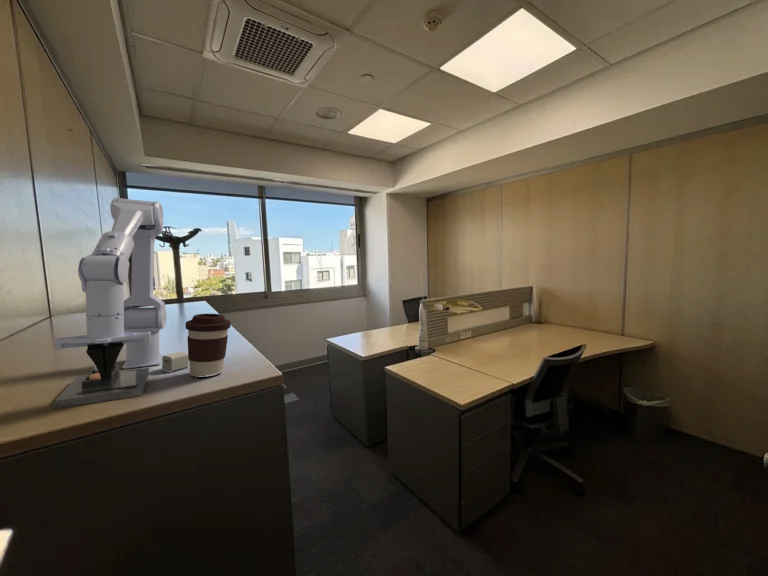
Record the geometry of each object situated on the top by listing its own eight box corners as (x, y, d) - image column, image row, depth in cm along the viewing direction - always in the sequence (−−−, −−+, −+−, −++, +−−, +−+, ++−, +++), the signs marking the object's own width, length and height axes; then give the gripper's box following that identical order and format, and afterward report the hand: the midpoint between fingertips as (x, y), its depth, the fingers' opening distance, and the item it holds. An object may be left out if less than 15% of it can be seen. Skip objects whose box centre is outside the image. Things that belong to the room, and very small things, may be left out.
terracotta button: (91, 380, 67) (91, 373, 67) (110, 378, 69) (110, 371, 69) (87, 385, 65) (87, 378, 65) (107, 382, 67) (107, 375, 66)
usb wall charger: (162, 370, 81) (162, 355, 81) (188, 363, 87) (188, 349, 87) (171, 372, 79) (171, 357, 79) (197, 365, 86) (197, 351, 85)
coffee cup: (200, 383, 73) (203, 320, 72) (174, 374, 77) (176, 314, 76) (236, 372, 82) (239, 316, 81) (211, 364, 86) (213, 311, 85)
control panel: (77, 382, 71) (77, 369, 70) (148, 373, 78) (148, 362, 78) (54, 408, 58) (54, 393, 58) (142, 395, 65) (142, 381, 65)
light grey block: (122, 384, 66) (122, 372, 66) (136, 382, 67) (136, 370, 67) (120, 387, 64) (120, 375, 64) (135, 385, 66) (135, 373, 66)
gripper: (47, 319, 56) (49, 393, 57) (148, 315, 64) (149, 380, 64) (60, 313, 62) (62, 380, 63) (151, 310, 69) (151, 369, 70)
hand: (106, 379), depth 64 cm, fingers closed
